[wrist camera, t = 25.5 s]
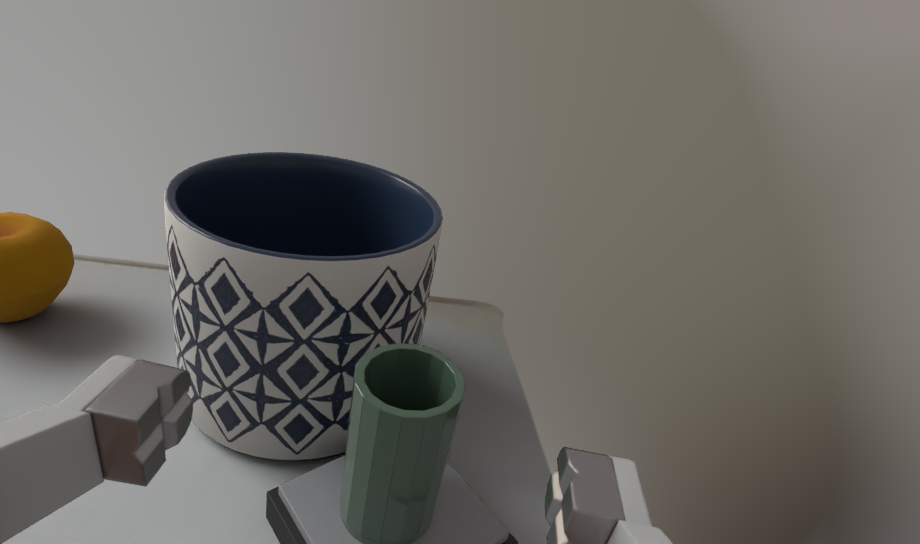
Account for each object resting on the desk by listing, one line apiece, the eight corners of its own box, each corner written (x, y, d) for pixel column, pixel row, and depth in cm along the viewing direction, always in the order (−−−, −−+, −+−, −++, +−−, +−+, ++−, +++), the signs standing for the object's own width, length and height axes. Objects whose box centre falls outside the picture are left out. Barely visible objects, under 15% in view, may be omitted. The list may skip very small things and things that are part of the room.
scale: (509, 566, 33) (522, 533, 32) (356, 685, 26) (362, 652, 25) (409, 447, 40) (415, 416, 38) (265, 517, 33) (266, 482, 31)
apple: (11, 360, 40) (-18, 257, 36) (-89, 327, 41) (-128, 223, 37) (107, 303, 48) (93, 212, 44) (21, 276, 49) (-1, 185, 44)
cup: (417, 564, 29) (449, 432, 24) (322, 530, 29) (335, 395, 25) (444, 484, 34) (475, 361, 29) (362, 456, 34) (379, 332, 30)
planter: (229, 304, 51) (224, 137, 43) (415, 330, 53) (443, 175, 45) (132, 452, 35) (98, 229, 27) (404, 480, 37) (444, 280, 29)
